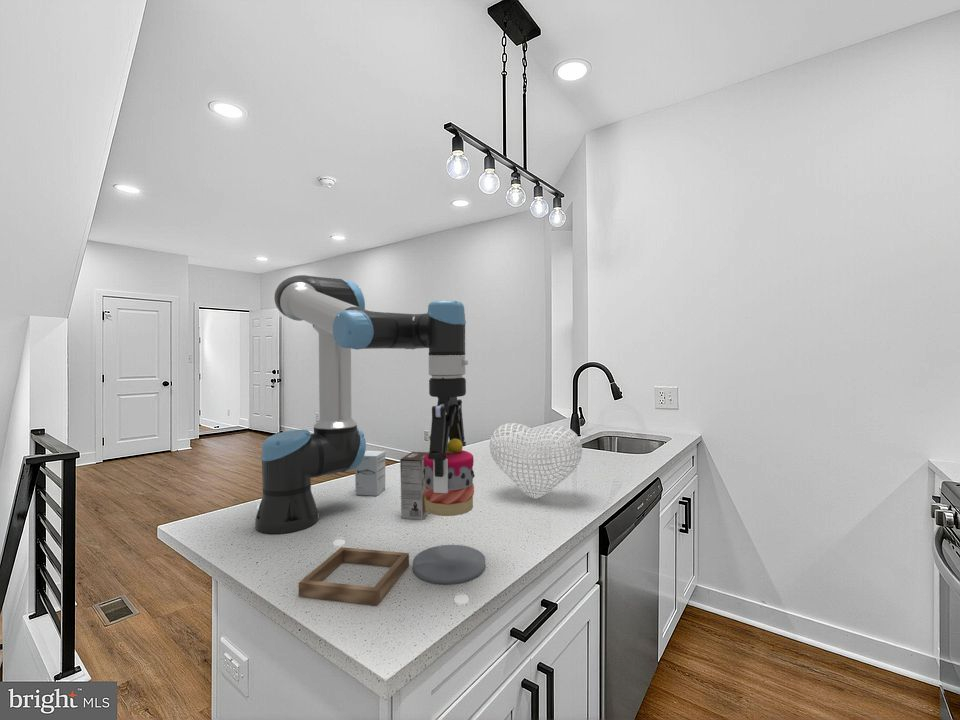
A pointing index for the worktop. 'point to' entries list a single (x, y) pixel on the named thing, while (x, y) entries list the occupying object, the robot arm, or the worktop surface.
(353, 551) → the frame
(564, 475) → the heart
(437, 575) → the plate
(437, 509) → the cake
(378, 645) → the worktop surface
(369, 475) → the supplement box
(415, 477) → the coffee box
